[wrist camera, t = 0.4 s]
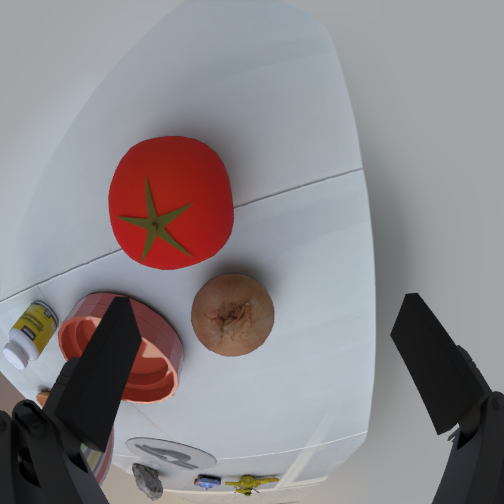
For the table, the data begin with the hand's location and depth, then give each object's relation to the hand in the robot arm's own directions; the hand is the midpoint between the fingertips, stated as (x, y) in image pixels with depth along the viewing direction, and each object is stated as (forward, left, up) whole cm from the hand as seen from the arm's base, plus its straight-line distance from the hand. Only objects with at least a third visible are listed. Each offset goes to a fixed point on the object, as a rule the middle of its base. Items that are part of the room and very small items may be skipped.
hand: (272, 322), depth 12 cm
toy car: (+86, +58, -19) cm, 105 cm away
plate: (+72, +34, -19) cm, 82 cm away
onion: (+11, +6, -19) cm, 23 cm away
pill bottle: (+39, -14, -19) cm, 45 cm away
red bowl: (+30, 0, -19) cm, 35 cm away
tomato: (+5, -7, -19) cm, 21 cm away
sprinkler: (+74, +70, -19) cm, 103 cm away
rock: (+101, +41, -19) cm, 110 cm away
